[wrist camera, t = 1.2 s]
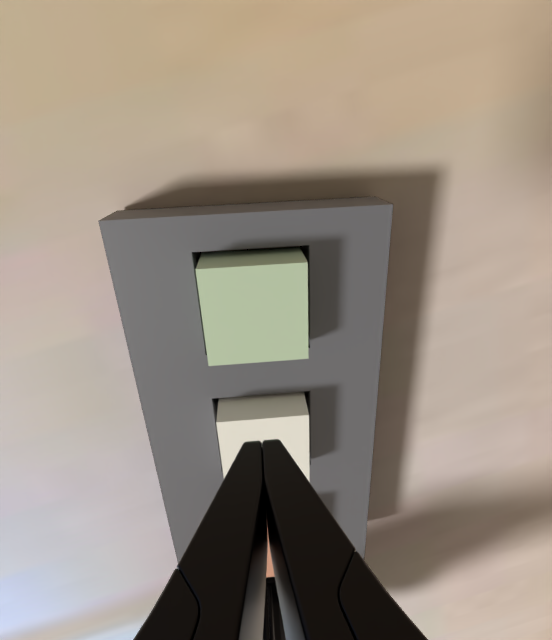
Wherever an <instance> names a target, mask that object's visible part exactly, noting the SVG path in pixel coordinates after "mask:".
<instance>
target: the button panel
mask: <svg viewBox="0 0 552 640" xmlns="http://www.w3.org/2000/svg"><path fill="white" fill-rule="evenodd" d="M392 212H393V204H391V203H389V202H386V201H384V200H382V199H379V198H377V197H357V198H339V199H321V200H303V201H284V202H266V203H248V204H230V205H212V206H194V207H175V208H157V209H139V210H121V211H116V212H114V213H112V214H110V215H108V216H106V217H105V218H103V219H101V220H99V226H100V230H101V234H102V239H103V243H104V247H105V251H106V256H107V260H108V264H109V269H110V273H111V277H112V281H113V286H114V290H115V294H116V299H117V303H118V307H119V312H120V316H121V320H122V324H123V329H124V333H125V337H126V342H127V346H128V350H129V355H130V359H131V363H132V367H133V372H134V376H135V380H136V385H137V389H138V393H139V397H140V402H141V406H142V410H143V415H144V419H145V423H146V428H147V432H148V436H149V440H150V445H151V449H152V453H153V458H154V462H155V466H156V471H157V475H158V479H159V483H160V488H161V492H162V496H163V501H164V505H165V509H166V513H167V518H168V522H169V526H170V531H171V535H172V539H173V544H174V548H175V552H176V556H177V561H178V563H179V561H180V559H181V558H182V556H183V554H184V552H185V550H186V548H187V546H188V545H189V543H190V541H191V539H192V537H193V535H194V533H195V532H196V530H197V528H198V526H199V524H200V522H201V521H202V519H203V517H204V515H205V513H206V511H207V509H208V508H209V506H210V504H211V502H212V500H213V498H214V496H215V495H216V493H217V491H218V489H219V487H220V485H221V484H222V482H223V480H224V476H223V469H222V461H221V454H220V447H219V439H218V432H217V425H216V420H217V410H218V401H219V398H226V397H239V396H251V395H264V394H277V393H290V392H303V391H304V395H305V400H306V404H307V408H308V413H309V468H310V484H311V485H312V487H313V488H314V489H315V491H316V492H317V494H318V495H319V497H320V498H321V499H322V501H323V502H324V504H325V505H326V507H327V508H328V509H329V511H330V512H331V514H332V515H333V517H334V518H335V520H336V521H337V522H338V524H339V525H340V527H341V528H342V530H343V531H344V532H345V534H346V535H347V537H348V538H349V540H350V541H351V542H352V544H353V545H354V547H355V548H356V551H357V552H359V554H360V555H361V557H362V558H363V559H364V555H365V543H366V531H367V518H368V506H369V494H370V482H371V469H372V457H373V445H374V432H375V420H376V408H377V396H378V383H379V371H380V359H381V347H382V334H383V322H384V310H385V297H386V285H387V273H388V261H389V248H390V236H391V224H392ZM287 246H302V252H303V254H304V256H305V258H306V260H307V262H308V356H309V359H298V360H285V361H271V362H258V363H244V364H231V365H217V366H208V358H207V351H206V344H205V336H204V329H203V321H202V314H201V307H200V299H199V292H198V285H197V277H196V270H195V269H196V267H197V264H198V262H199V259H200V252H204V251H221V250H238V249H254V248H271V247H287Z"/></svg>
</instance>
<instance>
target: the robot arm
mask: <svg viewBox="0 0 552 640" xmlns="http://www.w3.org/2000/svg"><path fill="white" fill-rule="evenodd" d="M267 528H268V531H267ZM268 539H269V547H270V553H271V559H272V564H273V570H274V575H275V577H270V578H266V571H267V553H268ZM133 640H428V639H427V638H426V637H425V636H424V635H423V633H422V632H421V631H420V630H419V629H418V628H417V627H416V625H415V624H414V623H413V622H412V621H411V620H410V618H409V617H408V616H407V615H406V614H405V613H404V611H403V610H402V609H401V608H400V607H399V605H398V604H397V603H396V602H395V601H394V599H393V598H392V597H391V596H390V594H389V593H388V592H387V591H386V589H385V588H384V587H383V585H382V584H381V583H380V581H379V580H378V579H377V577H376V576H375V575H374V573H373V572H372V571H371V569H370V568H369V567H368V565H367V564H366V562H365V561H364V559H363V558H362V557H361V555H360V554H359V552H357V551H356V548H355V547H354V545H353V544H352V542H351V541H350V540H349V538H348V537H347V535H346V534H345V532H344V531H343V530H342V528H341V527H340V525H339V524H338V522H337V521H336V520H335V518H334V517H333V515H332V514H331V512H330V511H329V509H328V508H327V507H326V505H325V504H324V502H323V501H322V499H321V498H320V497H319V495H318V494H317V492H316V491H315V489H314V488H313V487H312V485H311V484H310V482H309V481H308V479H307V478H306V476H305V475H304V474H303V472H302V471H301V469H300V468H299V466H298V465H297V464H296V462H295V461H294V459H293V458H292V456H291V455H290V454H289V452H288V451H287V449H286V448H285V446H284V445H283V443H282V442H281V441H280V440H279V439H271V440H264V441H263V442H262V443H261V441H247V442H244V443H243V445H242V447H241V448H240V450H239V452H238V454H237V456H236V458H235V459H234V461H233V463H232V465H231V467H230V469H229V471H228V472H227V474H226V476H225V478H224V480H223V482H222V484H221V485H220V487H219V489H218V491H217V493H216V495H215V496H214V498H213V500H212V502H211V504H210V506H209V508H208V509H207V511H206V513H205V515H204V517H203V519H202V521H201V522H200V524H199V526H198V528H197V530H196V532H195V533H194V535H193V537H192V539H191V541H190V543H189V545H188V546H187V548H186V550H185V552H184V554H183V556H182V558H181V559H180V561H179V563H178V565H177V569H175V570H174V572H173V574H172V576H171V578H170V579H169V581H168V583H167V585H166V587H165V589H164V590H163V592H162V594H161V596H160V597H159V599H158V601H157V602H156V604H155V606H154V608H153V609H152V611H151V613H150V615H149V616H148V618H147V619H146V621H145V622H144V624H143V626H142V627H141V629H140V630H139V632H138V633H137V635H136V636H135V638H134V639H133Z"/></svg>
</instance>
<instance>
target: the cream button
mask: <svg viewBox="0 0 552 640" xmlns="http://www.w3.org/2000/svg"><path fill="white" fill-rule="evenodd" d="M216 425H217V432H218V439H219V447H220V454H221V461H222V469H223V476H224V478H225V476H226V474H227V472H228V471H229V469H230V467H231V465H232V463H233V461H234V459H235V458H236V456H237V454H238V452H239V450H240V448H241V447H242V445H243V443H244V442H247V441H261V443H262V442H263V441H264V440H271V439H279V440H280V441H281V442H282V443H283V445H284V446H285V448H286V449H287V451H288V452H289V454H290V455H291V456H292V458H293V459H294V461H295V462H296V464H297V465H298V466H299V468H300V469H301V471H302V472H303V474H304V475H305V476H306V478H307V479H308V481H309V482H310V468H309V413H308V408H307V404H306V400H305V395H304V391H303V392H290V393H277V394H264V395H251V396H239V397H226V398H219V401H218V410H217V420H216Z"/></svg>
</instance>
